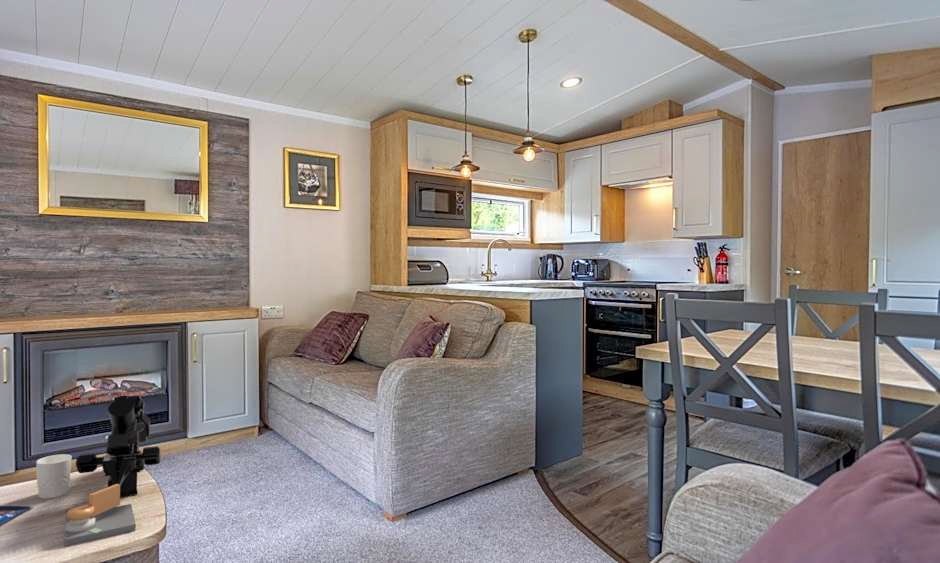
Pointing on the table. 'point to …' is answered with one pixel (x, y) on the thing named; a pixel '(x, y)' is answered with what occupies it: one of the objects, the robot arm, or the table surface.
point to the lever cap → (97, 503)
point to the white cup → (53, 475)
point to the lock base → (100, 525)
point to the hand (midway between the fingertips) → (116, 489)
